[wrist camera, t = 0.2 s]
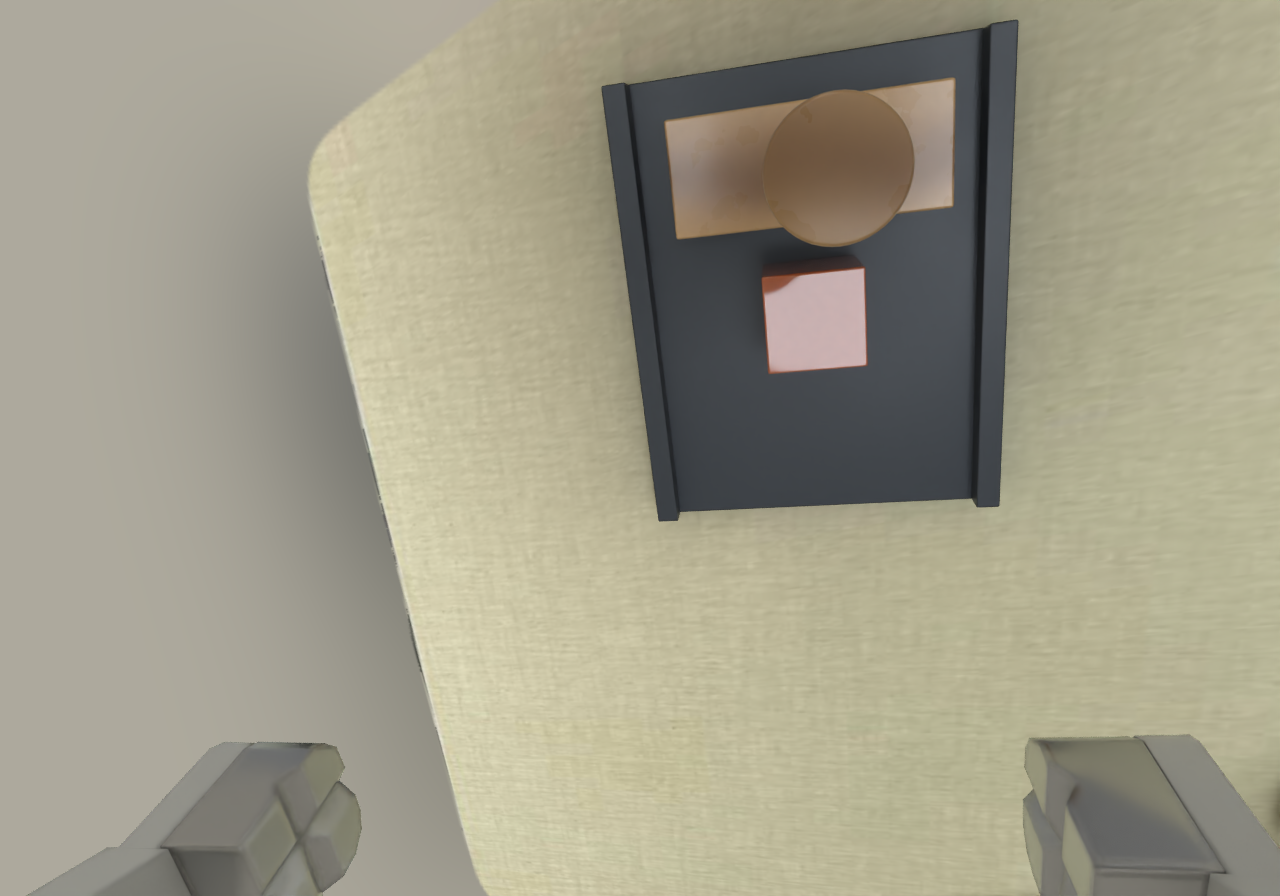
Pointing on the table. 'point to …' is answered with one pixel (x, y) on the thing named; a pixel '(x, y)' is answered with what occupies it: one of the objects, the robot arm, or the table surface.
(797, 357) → the block
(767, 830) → the table surface
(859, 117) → the brush
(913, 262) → the tray
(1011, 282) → the table surface
